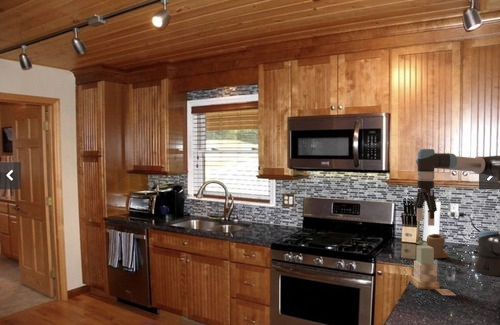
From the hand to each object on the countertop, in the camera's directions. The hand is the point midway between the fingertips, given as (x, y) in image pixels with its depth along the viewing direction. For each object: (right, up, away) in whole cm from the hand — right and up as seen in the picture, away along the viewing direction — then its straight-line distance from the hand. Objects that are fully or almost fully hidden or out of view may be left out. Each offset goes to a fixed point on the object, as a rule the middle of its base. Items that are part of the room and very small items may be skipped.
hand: (425, 223), depth 190 cm
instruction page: (+5, -31, -10) cm, 33 cm away
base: (0, -31, 0) cm, 31 cm away
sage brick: (0, -20, 0) cm, 20 cm away
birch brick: (0, -28, 0) cm, 28 cm away
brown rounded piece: (+32, -31, +54) cm, 70 cm away
